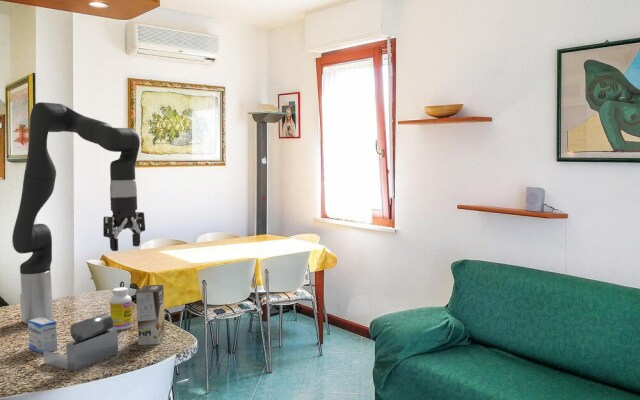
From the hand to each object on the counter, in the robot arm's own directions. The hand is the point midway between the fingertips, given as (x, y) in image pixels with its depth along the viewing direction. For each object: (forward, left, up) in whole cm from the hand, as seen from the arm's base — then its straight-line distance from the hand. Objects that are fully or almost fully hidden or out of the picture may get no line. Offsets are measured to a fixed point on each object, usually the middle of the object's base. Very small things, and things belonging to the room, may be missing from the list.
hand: (125, 248), depth 168 cm
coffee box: (+7, +3, -28) cm, 29 cm away
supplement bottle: (-11, +8, -28) cm, 32 cm away
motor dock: (0, -17, -28) cm, 33 cm away
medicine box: (-17, -17, -28) cm, 37 cm away
